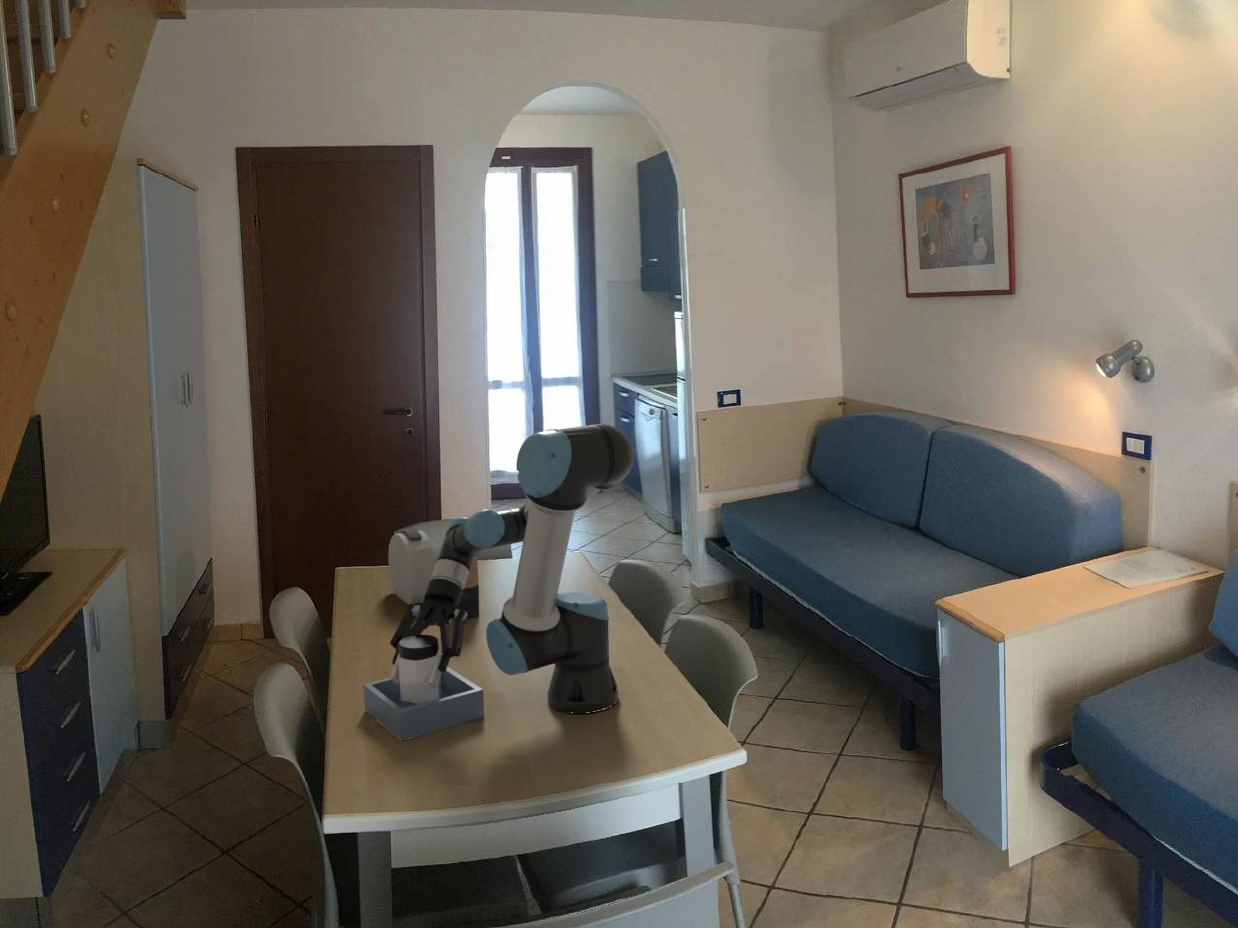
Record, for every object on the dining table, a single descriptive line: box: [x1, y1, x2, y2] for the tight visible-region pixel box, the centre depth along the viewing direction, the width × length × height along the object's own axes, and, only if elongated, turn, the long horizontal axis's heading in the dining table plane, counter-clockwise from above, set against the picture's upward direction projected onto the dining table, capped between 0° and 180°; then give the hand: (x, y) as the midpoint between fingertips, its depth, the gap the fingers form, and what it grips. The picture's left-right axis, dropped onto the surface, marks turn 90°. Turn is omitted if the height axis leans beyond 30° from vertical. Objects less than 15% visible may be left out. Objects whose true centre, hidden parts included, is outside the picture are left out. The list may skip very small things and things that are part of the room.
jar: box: [398, 634, 441, 704], centre depth 213 cm, size 9×8×12 cm
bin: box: [363, 666, 485, 740], centre depth 214 cm, size 18×18×6 cm
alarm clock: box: [387, 528, 437, 606], centre depth 292 cm, size 21×8×20 cm, turn 30°
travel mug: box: [453, 555, 480, 620], centre depth 276 cm, size 8×8×20 cm
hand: (413, 682), depth 210 cm, fingers closed on jar, 8 cm apart
